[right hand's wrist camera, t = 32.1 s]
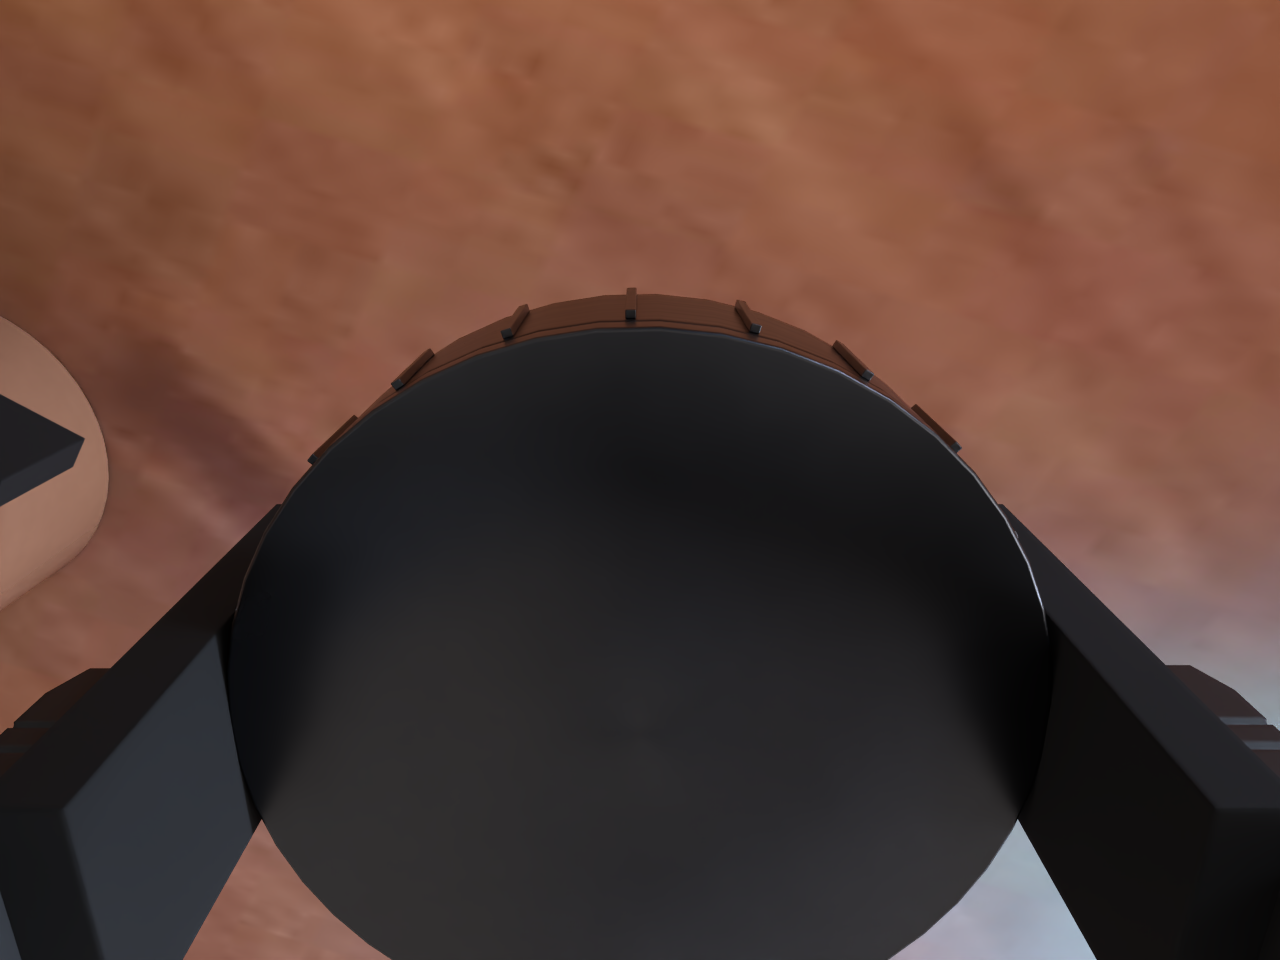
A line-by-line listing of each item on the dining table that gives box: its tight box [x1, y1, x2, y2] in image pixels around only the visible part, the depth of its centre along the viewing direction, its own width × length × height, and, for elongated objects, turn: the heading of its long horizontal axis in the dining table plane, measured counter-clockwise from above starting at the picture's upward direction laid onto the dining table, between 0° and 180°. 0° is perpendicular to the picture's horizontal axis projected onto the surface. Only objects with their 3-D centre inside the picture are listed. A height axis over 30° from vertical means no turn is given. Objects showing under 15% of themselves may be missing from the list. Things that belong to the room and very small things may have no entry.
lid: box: [227, 288, 1052, 960], centre depth 11 cm, size 9×9×2 cm
